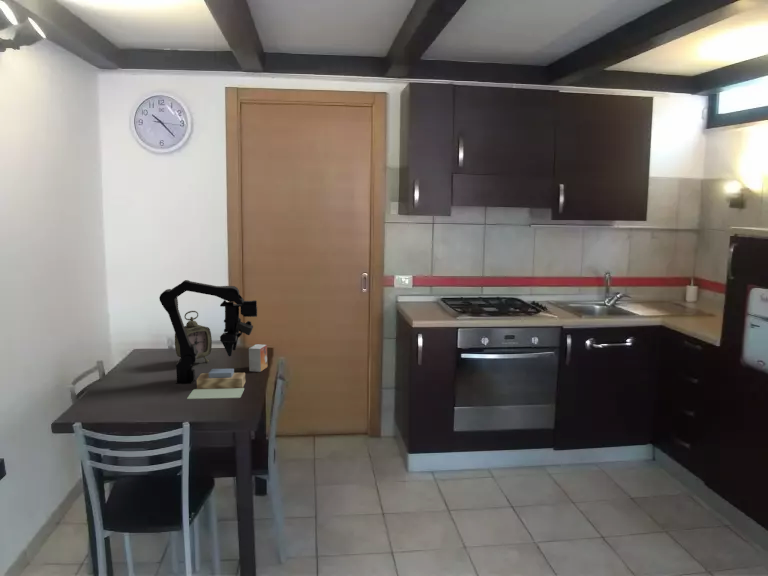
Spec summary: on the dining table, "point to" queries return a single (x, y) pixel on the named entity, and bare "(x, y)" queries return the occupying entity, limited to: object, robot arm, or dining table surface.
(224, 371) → the slate blue board
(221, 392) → the mat
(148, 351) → the dining table surface
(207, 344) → the tabletop clock
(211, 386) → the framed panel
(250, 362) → the small box
